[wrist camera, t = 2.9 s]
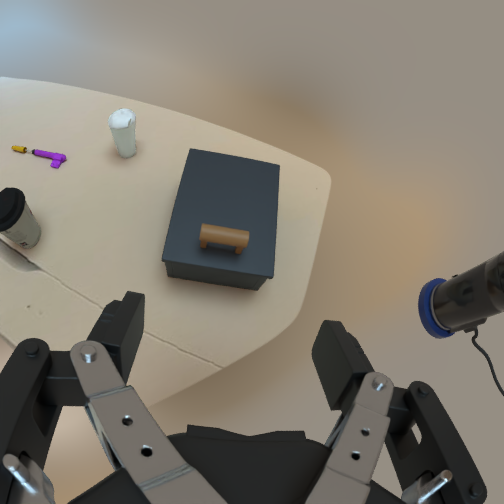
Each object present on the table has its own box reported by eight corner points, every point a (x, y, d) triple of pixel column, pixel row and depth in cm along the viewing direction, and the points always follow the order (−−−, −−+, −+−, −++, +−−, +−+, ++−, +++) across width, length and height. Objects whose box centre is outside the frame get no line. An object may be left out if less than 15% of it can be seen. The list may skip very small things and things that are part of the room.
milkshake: (125, 168, 45) (117, 126, 36) (110, 151, 46) (101, 110, 37) (147, 154, 47) (142, 112, 38) (131, 138, 48) (125, 97, 39)
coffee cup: (34, 261, 36) (3, 233, 27) (7, 247, 36) (-23, 218, 27) (53, 223, 39) (29, 188, 30) (26, 211, 39) (1, 178, 30)
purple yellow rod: (67, 156, 44) (14, 146, 42) (65, 153, 43) (11, 143, 41) (61, 169, 43) (9, 157, 42) (59, 167, 42) (6, 155, 41)
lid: (271, 279, 35) (284, 264, 30) (162, 261, 33) (158, 243, 28) (278, 168, 41) (288, 145, 37) (189, 151, 39) (191, 126, 35)
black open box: (257, 290, 42) (272, 273, 35) (167, 276, 40) (163, 255, 33) (265, 197, 49) (278, 168, 41) (188, 183, 47) (189, 152, 40)
